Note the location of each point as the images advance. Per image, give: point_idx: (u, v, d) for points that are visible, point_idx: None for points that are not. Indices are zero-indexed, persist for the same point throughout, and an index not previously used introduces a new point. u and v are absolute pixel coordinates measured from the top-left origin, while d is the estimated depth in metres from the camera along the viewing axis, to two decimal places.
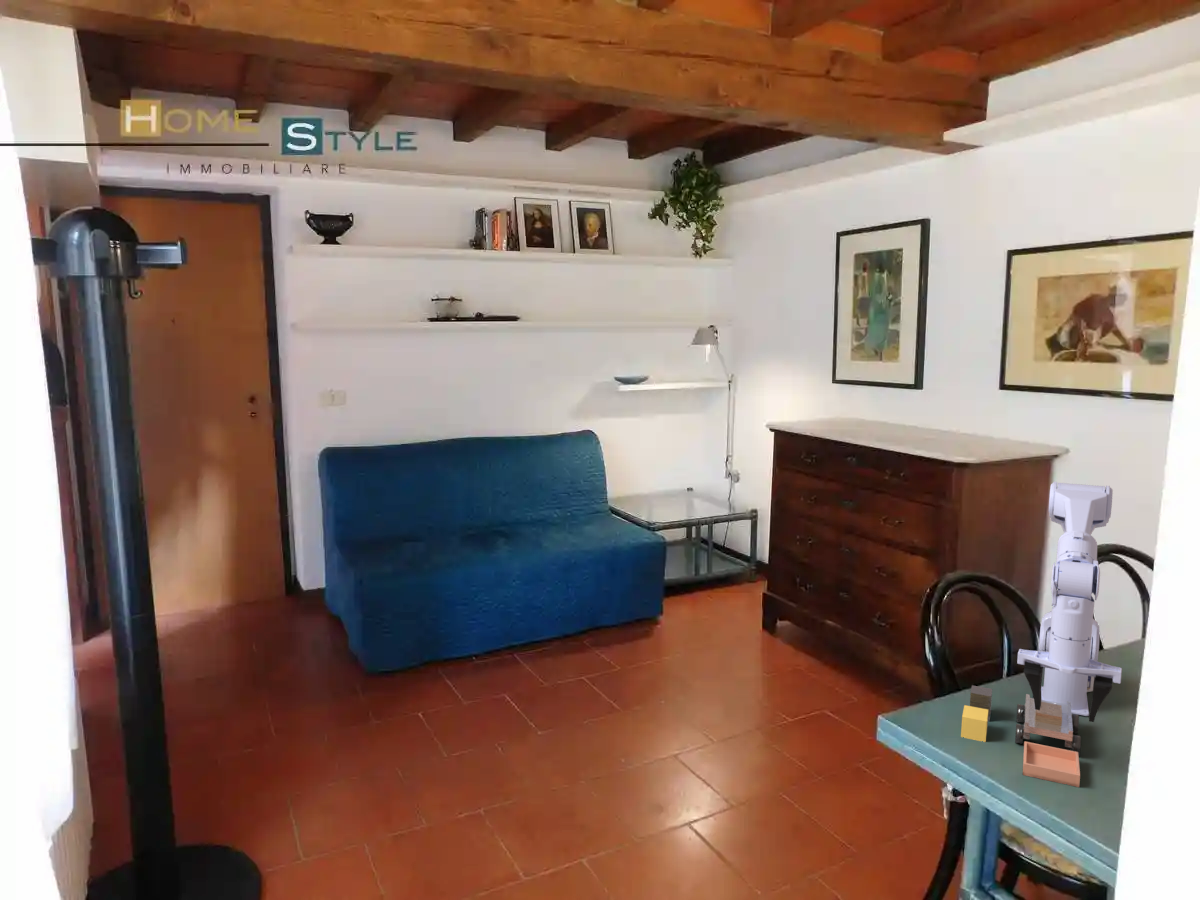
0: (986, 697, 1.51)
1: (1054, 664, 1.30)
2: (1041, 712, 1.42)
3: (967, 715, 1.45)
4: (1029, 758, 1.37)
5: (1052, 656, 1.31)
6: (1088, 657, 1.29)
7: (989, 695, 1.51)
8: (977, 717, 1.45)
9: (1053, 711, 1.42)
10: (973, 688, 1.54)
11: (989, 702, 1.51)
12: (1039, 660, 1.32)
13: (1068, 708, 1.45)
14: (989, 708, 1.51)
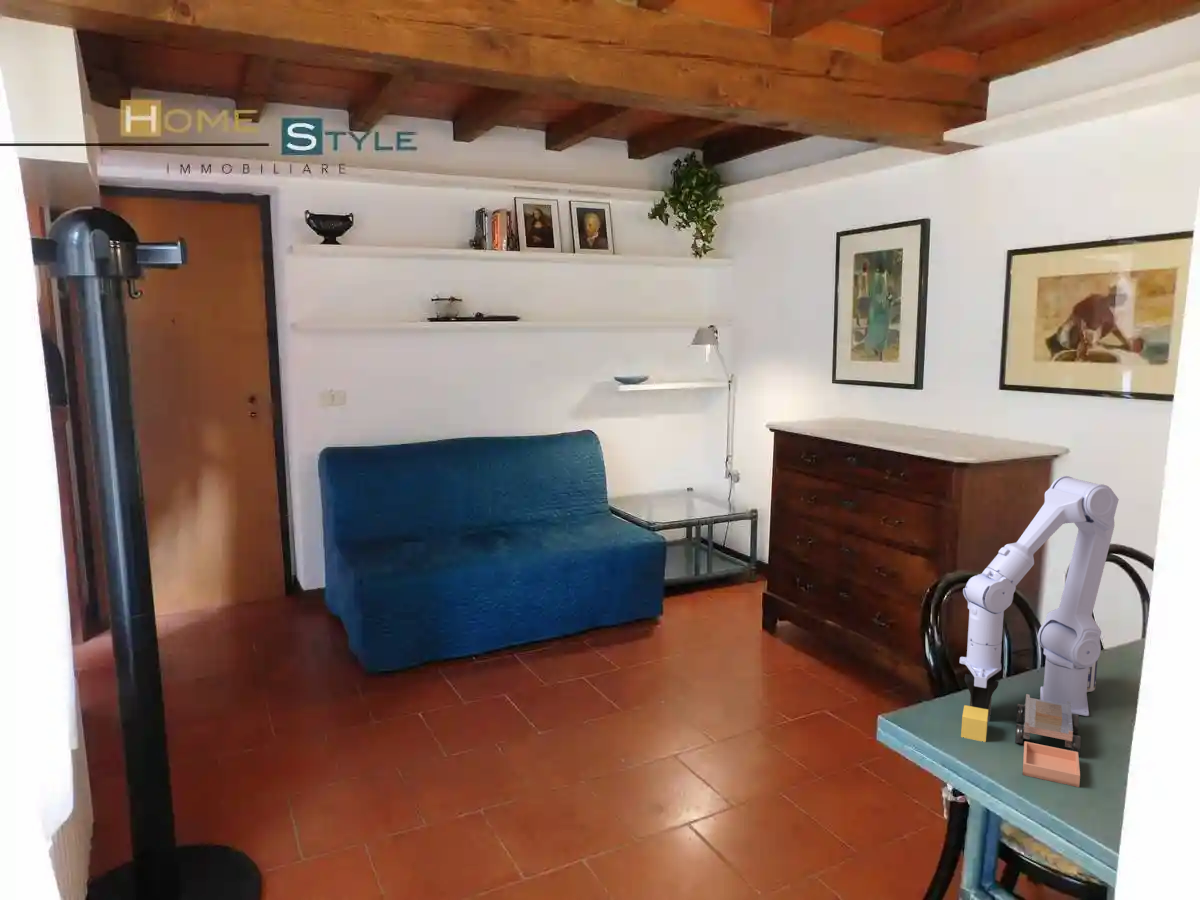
0: None
1: None
2: (1041, 712, 1.42)
3: (967, 715, 1.45)
4: (1029, 758, 1.37)
5: None
6: (977, 659, 1.49)
7: None
8: (977, 717, 1.45)
9: (1053, 711, 1.42)
10: None
11: None
12: None
13: (1068, 708, 1.45)
14: (989, 708, 1.51)
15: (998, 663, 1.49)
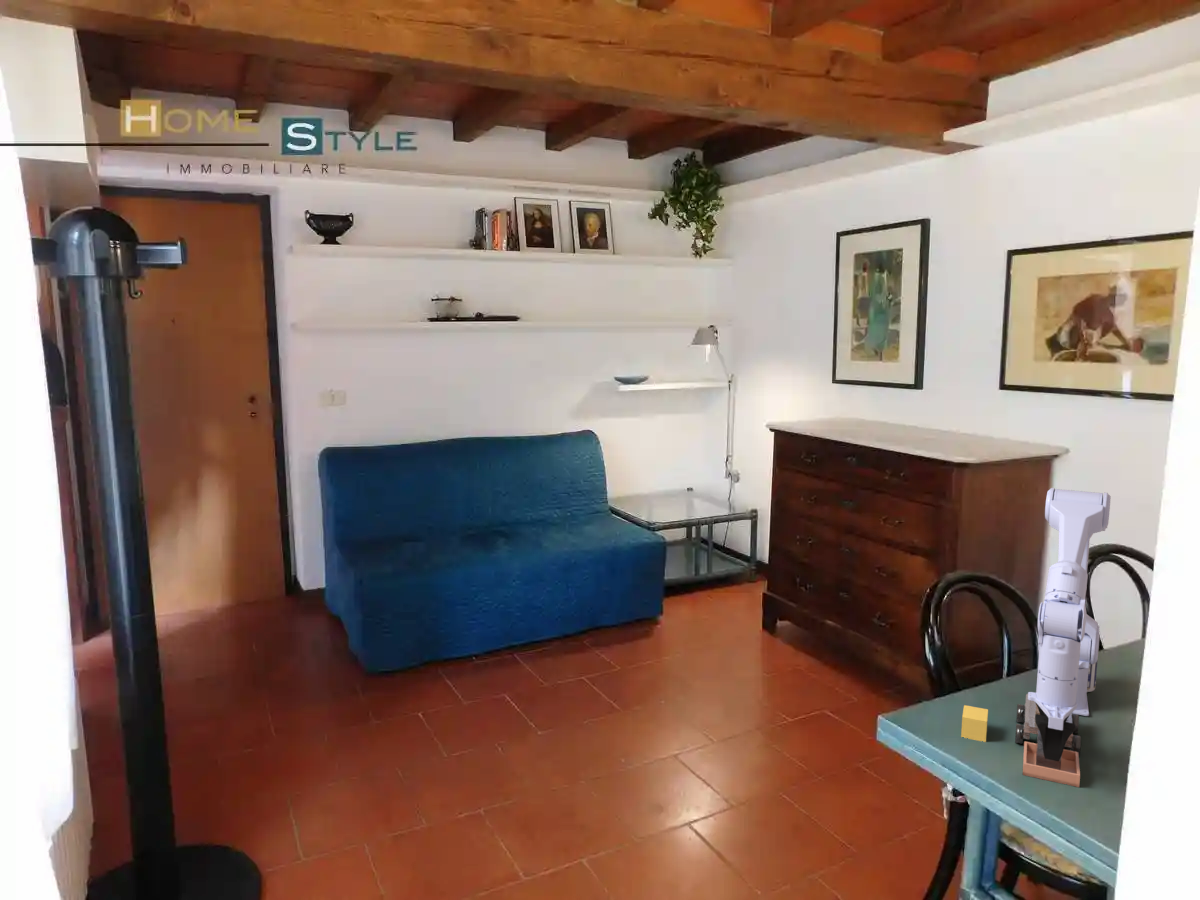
0: None
1: None
2: None
3: (967, 715, 1.45)
4: (1029, 758, 1.37)
5: None
6: (1050, 696, 1.31)
7: None
8: (977, 717, 1.45)
9: None
10: (1040, 734, 1.35)
11: None
12: None
13: None
14: (1060, 758, 1.32)
15: (1074, 700, 1.31)
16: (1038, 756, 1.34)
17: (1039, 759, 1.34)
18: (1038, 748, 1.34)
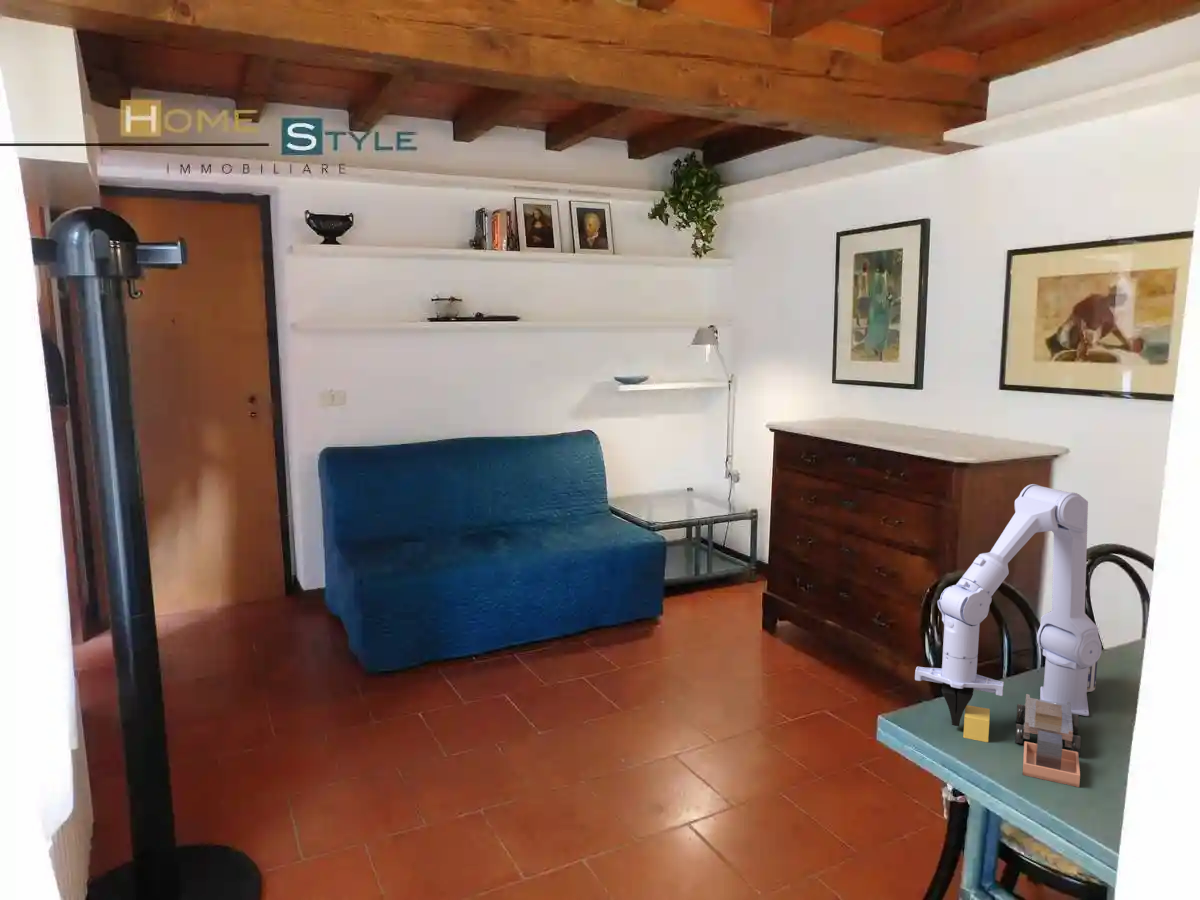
0: (1056, 746, 1.32)
1: (946, 680, 1.45)
2: (1041, 712, 1.42)
3: (969, 715, 1.45)
4: (1029, 758, 1.37)
5: (944, 673, 1.46)
6: (975, 673, 1.45)
7: (1060, 743, 1.32)
8: (979, 717, 1.44)
9: (1053, 711, 1.42)
10: (1040, 734, 1.35)
11: (1060, 751, 1.32)
12: (933, 676, 1.47)
13: (1068, 708, 1.45)
14: (1060, 758, 1.32)
15: None
16: (1038, 756, 1.34)
17: (1039, 759, 1.34)
18: (1038, 748, 1.34)
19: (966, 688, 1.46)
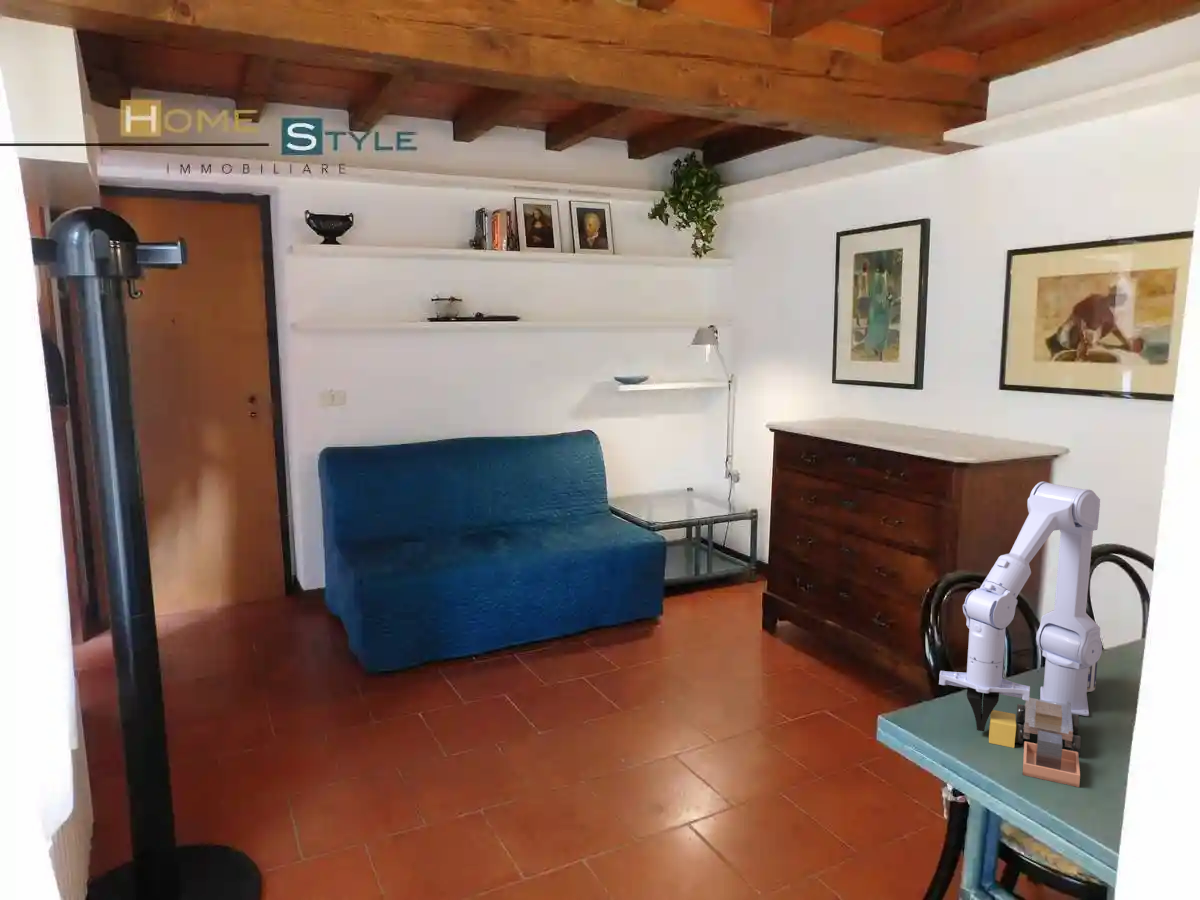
0: (1056, 746, 1.32)
1: (971, 684, 1.43)
2: (1041, 712, 1.42)
3: (995, 720, 1.43)
4: (1029, 758, 1.37)
5: (969, 677, 1.44)
6: (1001, 677, 1.43)
7: (1060, 743, 1.32)
8: (1006, 722, 1.42)
9: (1053, 711, 1.42)
10: (1040, 734, 1.35)
11: (1060, 751, 1.32)
12: (958, 681, 1.45)
13: (1068, 708, 1.45)
14: (1060, 758, 1.32)
15: None
16: (1038, 756, 1.34)
17: (1039, 759, 1.34)
18: (1038, 748, 1.34)
19: (992, 693, 1.44)
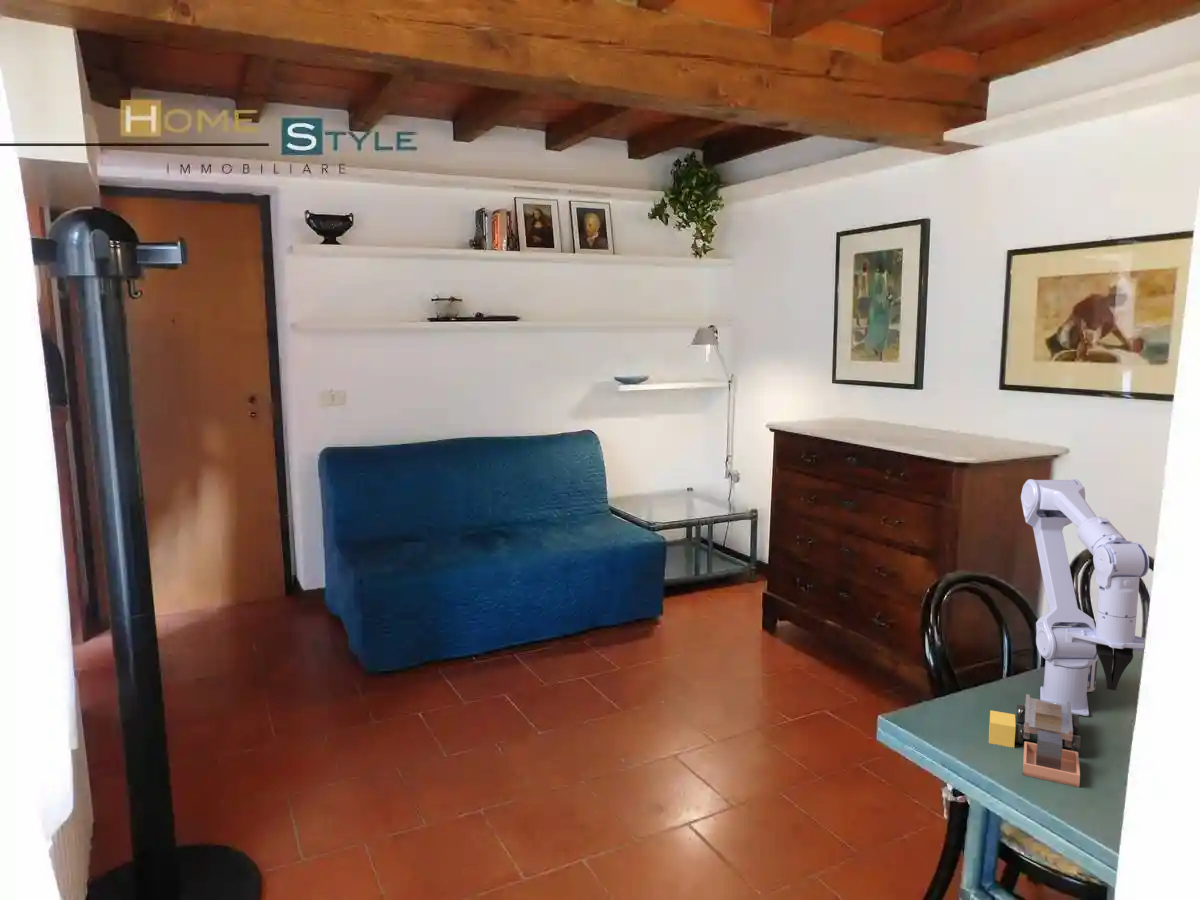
0: (1056, 746, 1.32)
1: (1103, 641, 1.38)
2: (1041, 712, 1.42)
3: (994, 721, 1.43)
4: (1029, 758, 1.37)
5: (1100, 633, 1.39)
6: (1134, 633, 1.38)
7: (1060, 743, 1.32)
8: (1005, 723, 1.43)
9: (1053, 711, 1.42)
10: (1040, 734, 1.35)
11: (1060, 751, 1.32)
12: (1088, 638, 1.40)
13: (1068, 708, 1.45)
14: (1060, 758, 1.32)
15: None
16: (1038, 756, 1.34)
17: (1039, 759, 1.34)
18: (1038, 748, 1.34)
19: (1124, 649, 1.39)
